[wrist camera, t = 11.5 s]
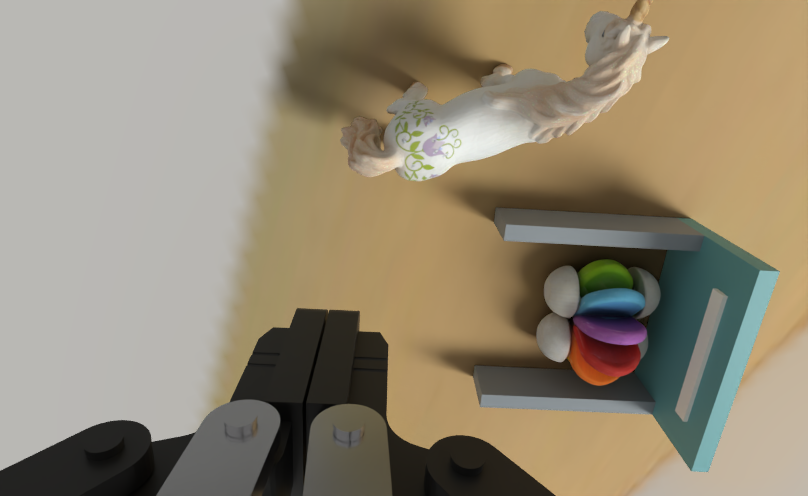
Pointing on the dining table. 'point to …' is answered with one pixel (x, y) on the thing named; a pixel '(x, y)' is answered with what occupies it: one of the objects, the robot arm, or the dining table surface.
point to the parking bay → (653, 328)
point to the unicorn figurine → (504, 106)
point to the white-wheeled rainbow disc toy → (598, 318)
